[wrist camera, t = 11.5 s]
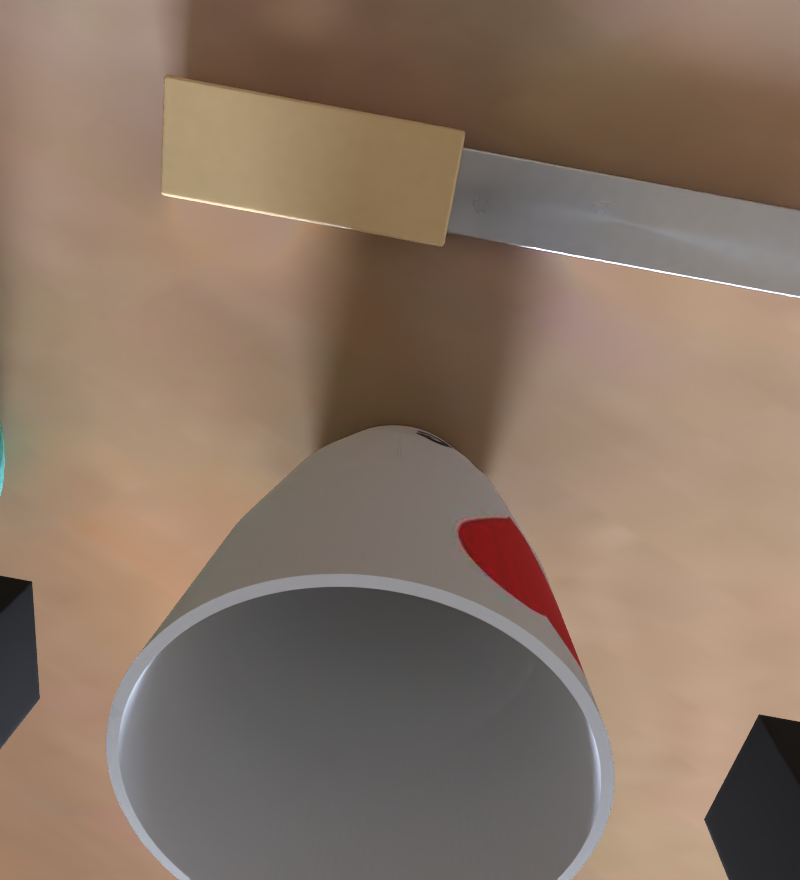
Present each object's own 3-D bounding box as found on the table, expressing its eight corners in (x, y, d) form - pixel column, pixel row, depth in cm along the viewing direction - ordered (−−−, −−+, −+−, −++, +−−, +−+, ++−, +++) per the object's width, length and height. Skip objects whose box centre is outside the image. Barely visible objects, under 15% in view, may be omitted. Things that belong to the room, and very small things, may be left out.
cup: (542, 593, 20) (632, 932, 11) (300, 626, 21) (197, 964, 12) (506, 350, 17) (588, 534, 8) (229, 401, 18) (22, 618, 9)
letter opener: (897, 216, 16) (933, 218, 15) (852, 318, 17) (882, 328, 16) (182, 81, 15) (162, 73, 14) (178, 194, 16) (159, 194, 15)
